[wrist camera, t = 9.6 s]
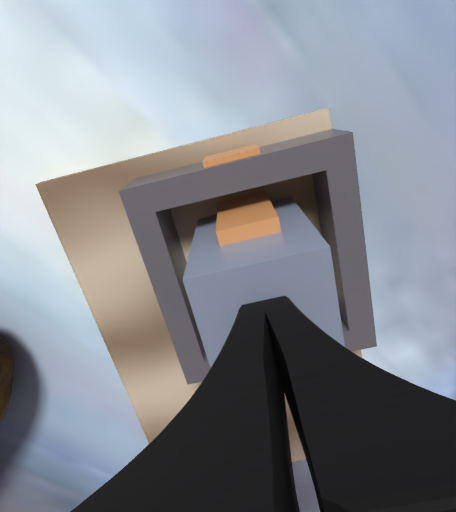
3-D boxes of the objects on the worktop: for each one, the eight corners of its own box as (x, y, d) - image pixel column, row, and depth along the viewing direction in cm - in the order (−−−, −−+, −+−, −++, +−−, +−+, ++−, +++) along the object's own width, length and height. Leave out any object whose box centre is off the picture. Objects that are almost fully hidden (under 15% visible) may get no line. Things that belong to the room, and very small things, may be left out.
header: (356, 314, 17) (376, 346, 15) (192, 349, 18) (187, 384, 15) (330, 123, 14) (351, 125, 12) (133, 173, 15) (116, 185, 12)
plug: (306, 281, 16) (348, 368, 11) (221, 300, 17) (218, 394, 11) (289, 185, 15) (327, 228, 9) (194, 207, 15) (177, 263, 10)
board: (369, 438, 21) (373, 447, 20) (168, 475, 22) (167, 484, 21) (324, 108, 14) (328, 108, 14) (42, 181, 15) (35, 184, 15)
